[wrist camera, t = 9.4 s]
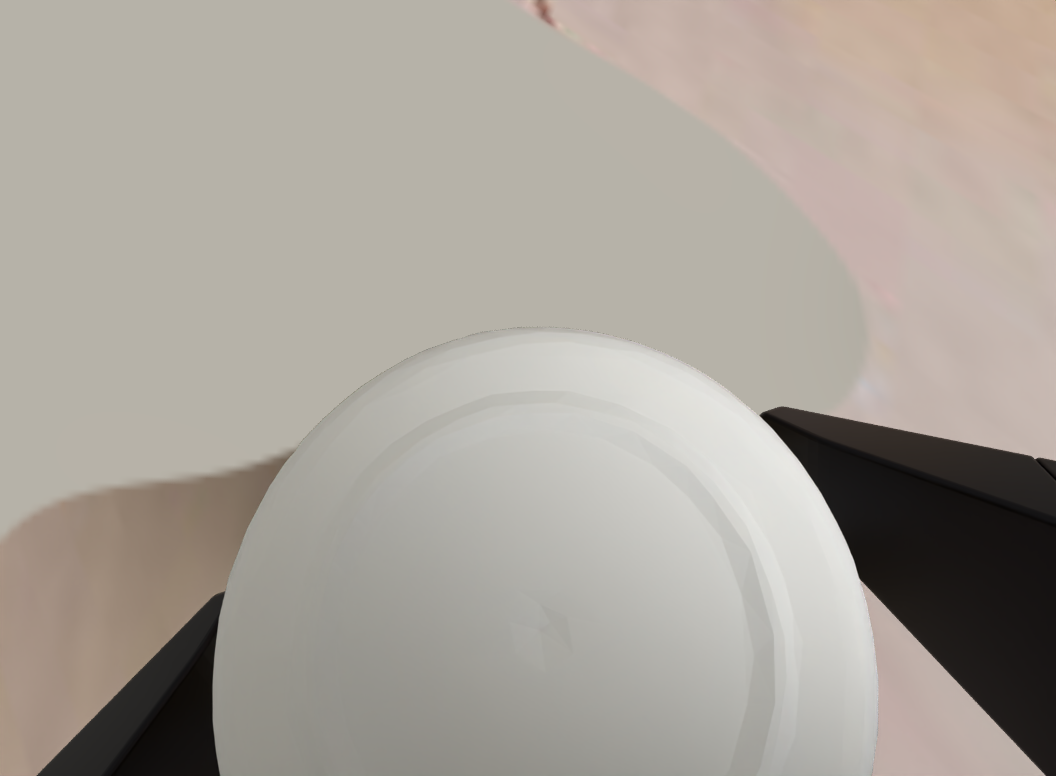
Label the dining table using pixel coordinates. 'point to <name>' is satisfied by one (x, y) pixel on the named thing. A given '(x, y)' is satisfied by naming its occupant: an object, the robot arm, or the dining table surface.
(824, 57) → the dining table surface
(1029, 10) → the dining table surface
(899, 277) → the dining table surface
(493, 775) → the sprinkles bottle
